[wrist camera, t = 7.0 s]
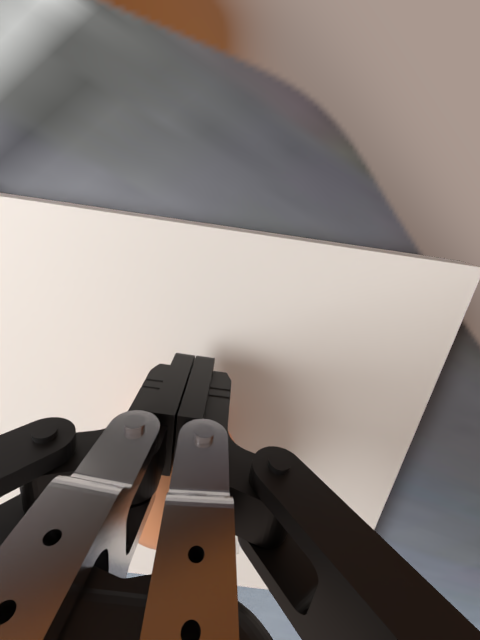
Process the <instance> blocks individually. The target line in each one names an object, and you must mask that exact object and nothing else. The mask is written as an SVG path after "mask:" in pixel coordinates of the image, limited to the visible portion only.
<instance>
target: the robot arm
mask: <svg viewBox="0 0 480 640" xmlns="http://www.w3.org/2000/svg"><path fill="white" fill-rule="evenodd" d="M214 363H215V358H211V357H204V356H196V358H195V355H189V354H182V353H176V354H175V356H174V358H173V360H172V362H171V365H167V364H158V365H157V366H155V367H154V368H153V369H151V370H150V372H149V373H148V375H147V377H146V380H145V381H144V382H143V384H142V387H141V388H140V390H139V392H138V393H137V395H136V397H135V399H134V401H133V403H132V404H131V406H130V408H129V410H128V411H127V412H124V413H122V414H119V415H118V416H116V417H115V418H114V419H112V421H111V422H110V423H109V425H108V426H107V427H106V428H105V429H101V430H94V431H85V432H76V428H75V425H74V424H73V423H72V422H71V421H69V420H68V419H65V418H60V417H49V418H43V419H39V420H36V421H34V422H31V423H29V424H26V425H24V426H21V427H19V428H16V429H14V430H11V431H9V432H6V433H4V434H1V435H0V497H2V496H4V495H6V494H8V493H10V492H11V491H13V490H15V489H17V488H19V489H20V494H19V495H17V496H15V497H13V498H12V499H10V500H8V501H6V502H4V503H2V504H0V640H273V639H272V637H271V636H270V634H269V633H268V631H267V630H266V629H265V627H264V626H263V624H262V623H261V622H260V621H259V620H258V619H257V617H256V616H255V615H254V614H253V613H252V612H251V611H250V610H249V609H247V608H246V607H245V606H244V605H243V604H242V603H240V602H239V601H238V595H237V569H236V543H235V535H236V536H237V537H238V542H239V545H240V547H241V548H242V550H243V552H244V553H245V555H246V556H247V558H248V559H249V561H250V562H251V564H252V565H253V567H254V568H255V570H256V571H257V573H258V574H259V576H260V577H261V579H262V580H263V582H264V583H265V585H266V586H267V588H268V589H269V591H270V592H271V594H272V595H273V597H274V598H275V600H276V601H277V603H278V604H279V606H280V607H281V609H282V610H283V612H284V613H285V615H286V616H287V618H288V619H289V621H290V622H291V624H292V625H293V627H294V628H295V630H296V631H297V633H298V634H299V636H300V637H301V639H302V640H480V631H479V630H478V629H477V628H476V627H475V626H474V625H473V624H471V623H470V622H469V621H468V620H467V619H466V618H465V617H464V616H463V615H462V614H461V613H460V612H459V611H458V610H457V609H456V608H455V607H454V606H453V605H452V604H451V603H450V602H448V601H447V600H446V599H445V598H444V597H443V596H442V595H441V594H440V593H439V592H438V591H437V590H436V589H435V588H434V587H433V586H432V585H431V584H430V583H429V582H428V581H427V580H425V579H424V578H423V577H422V576H421V575H420V574H419V573H418V572H417V571H416V570H415V569H414V568H413V567H412V566H411V565H410V564H409V563H408V562H407V561H406V560H405V559H404V558H402V557H401V556H400V555H399V554H398V553H397V552H396V551H395V550H394V549H393V548H392V547H391V546H390V545H389V544H388V543H387V542H386V541H385V540H384V539H383V538H382V537H381V536H380V535H378V534H377V533H376V532H375V531H374V530H373V529H372V528H371V527H370V526H369V525H368V524H367V523H366V522H365V521H364V520H363V519H362V518H361V517H360V516H359V515H358V514H357V513H355V512H354V511H353V510H352V509H351V508H350V507H349V506H348V505H347V504H346V503H345V502H344V501H343V500H342V499H341V498H340V497H339V496H338V495H337V494H336V493H335V492H334V491H332V490H331V489H330V488H329V487H328V486H327V485H326V484H325V483H324V482H323V481H322V480H321V479H320V478H319V477H318V476H317V475H316V474H315V473H314V472H313V471H312V470H311V469H309V468H308V467H307V466H306V465H305V464H304V463H303V462H302V461H301V460H300V459H299V458H298V457H297V456H296V455H295V454H293V453H292V452H290V451H289V450H287V449H284V448H281V447H276V446H268V447H264V448H261V449H260V450H258V451H257V452H256V453H253V452H250V451H248V450H245V449H243V448H241V447H240V446H238V445H237V444H236V443H235V442H234V441H233V440H232V439H231V437H230V435H229V433H228V418H229V406H230V394H231V382H232V381H231V379H230V377H229V376H228V374H227V373H226V372H218V371H214ZM172 466H173V469H172ZM171 470H172V475H171V481H170V486H169V492H167V494H166V499H165V504H164V509H163V515H162V520H161V526H160V531H159V537H158V542H157V548H156V553H155V559H154V564H153V570H152V574H150V575H144V576H138V577H133V578H126V576H127V572H128V569H129V565H130V562H131V560H132V557H133V555H134V552H135V549H136V547H137V544H138V542H139V539H140V537H141V534H142V531H143V529H144V526H145V524H146V521H147V519H148V516H149V513H150V511H151V508H152V506H153V503H154V500H155V496H156V490H157V488H158V485H159V481H160V478H161V475H163V476H170V474H171Z"/></svg>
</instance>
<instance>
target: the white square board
mask: <svg viewBox="0 0 480 640" xmlns="http://www.w3.org/2000/svg"><path fill="white" fill-rule="evenodd" d="M479 280H480V266H476V265H473V264H469V263H466V262H462V261H458V260H451V259H445V258H438V257H431V256H424V255H418V254H411V253H404V252H397V251H391V250H384V249H377V248H370V247H364V246H357V245H350V244H343V243H337V242H330V241H323V240H316V239H310V238H303V237H296V236H289V235H283V234H276V233H269V232H263V231H256V230H249V229H242V228H236V227H229V226H222V225H215V224H209V223H202V222H195V221H188V220H182V219H175V218H168V217H161V216H155V215H148V214H141V213H134V212H128V211H121V210H114V209H107V208H101V207H94V206H87V205H80V204H74V203H67V202H60V201H53V200H47V199H40V198H33V197H26V196H20V195H13V194H6V193H0V435H1V434H4V433H6V432H9V431H11V430H14V429H16V428H19V427H21V426H24V425H26V424H29V423H31V422H34V421H36V420H39V419H43V418H49V417H60V418H65V419H68V420H69V421H71V422H72V423H73V424H74V425H75V428H76V432H85V431H94V430H101V429H105V428H106V427H107V426H108V425H109V423H110V422H111V421H112V419H114V418H115V417H116V416H118V415H119V414H122V413H124V412H127V411H128V410H129V408H130V406H131V404H132V403H133V401H134V399H135V397H136V395H137V393H138V392H139V390H140V388H141V387H142V384H143V382H144V381H145V380H146V377H147V375H148V373H149V372H150V370H151V369H153V368H154V367H155V366H157V365H158V364H167V365H171V362H172V360H173V358H174V356H175V354H176V353H182V354H189V355H195V358H196V356H204V357H211V358H215V363H214V371H218V372H226V373H227V374H228V376H229V377H230V379H231V381H232V382H231V394H230V406H229V418H228V431H229V432H230V434H231V436H232V437H233V439H234V441H235V443H236V444H237V445H238V446H240V447H241V448H243V449H245V450H248V451H250V452H253V453H256V452H257V451H258V450H260V449H261V448H264V447H268V446H276V447H281V448H284V449H287V450H289V451H290V452H292V453H293V454H295V455H296V456H297V457H298V458H299V459H300V460H301V461H302V462H303V463H304V464H305V465H306V466H307V467H308V468H309V469H311V470H312V471H313V472H314V473H315V474H316V475H317V476H318V477H319V478H320V479H321V480H322V481H323V482H324V483H325V484H326V485H327V486H328V487H329V488H330V489H331V490H332V491H334V492H335V493H336V494H337V495H338V496H339V497H340V498H341V499H342V500H343V501H344V502H345V503H346V504H347V505H348V506H349V507H350V508H351V509H352V510H353V511H354V512H355V513H357V514H358V515H359V516H360V517H361V518H362V519H363V520H364V521H365V522H366V523H367V524H368V525H369V526H370V527H371V528H372V529H373V530H374V529H375V527H376V524H377V522H378V520H379V517H380V515H381V512H382V510H383V508H384V505H385V503H386V501H387V498H388V496H389V493H390V491H391V489H392V486H393V484H394V482H395V479H396V477H397V474H398V472H399V470H400V467H401V465H402V463H403V460H404V458H405V455H406V453H407V451H408V448H409V446H410V444H411V441H412V439H413V437H414V434H415V432H416V429H417V427H418V425H419V422H420V420H421V418H422V415H423V413H424V410H425V408H426V406H427V403H428V401H429V399H430V396H431V394H432V391H433V389H434V387H435V384H436V382H437V380H438V377H439V375H440V372H441V370H442V368H443V365H444V363H445V361H446V358H447V356H448V353H449V351H450V349H451V346H452V344H453V342H454V339H455V337H456V334H457V332H458V330H459V327H460V325H461V323H462V320H463V318H464V315H465V313H466V311H467V308H468V306H469V304H470V301H471V299H472V296H473V294H474V291H475V289H476V287H477V285H478V282H479ZM19 494H20V489H19V488H17V489H15V490H13V491H11V492H10V493H8V494H6V495H4V496H2V497H0V504H2V503H4V502H6V501H8V500H10V499H12V498H13V497H15V496H17V495H19ZM235 543H236V569H237V586H244V587H252V588H260V589H268V588H267V586H266V585H265V583H264V582H263V580H262V579H261V577H260V576H259V574H258V573H257V571H256V570H255V568H254V567H253V565H252V564H251V562H250V561H249V559H248V558H247V556H246V555H245V553H244V552H243V550H242V548H241V547H240V545H239V542H238V537H237V536H236V535H235ZM155 553H156V550H154V549H150V548H147V547H145V546H142V545H140V544H139V543H138V544H137V547H136V549H135V552H134V555H133V557H132V560H131V562H130V565H129V569H128V572H129V573H138V574H146V575H150V574H152V570H153V564H154V559H155ZM268 590H269V589H268Z"/></svg>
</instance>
